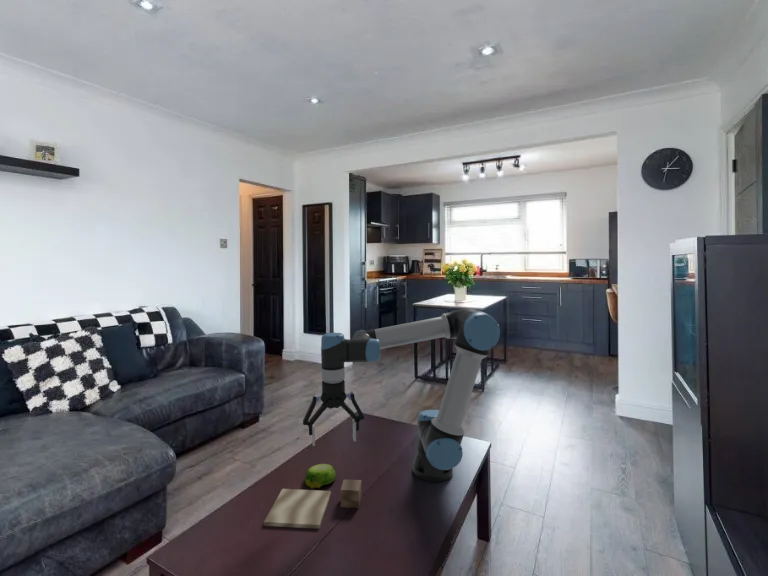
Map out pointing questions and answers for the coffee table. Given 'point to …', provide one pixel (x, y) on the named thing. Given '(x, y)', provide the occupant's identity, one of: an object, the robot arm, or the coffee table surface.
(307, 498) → the oak board
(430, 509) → the coffee table surface
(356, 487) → the walnut cube
